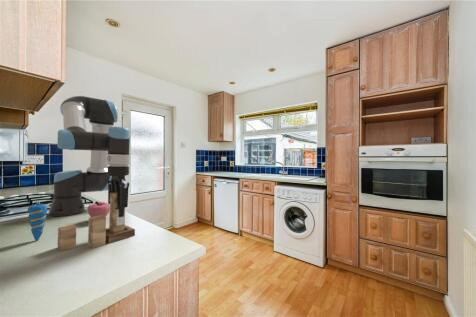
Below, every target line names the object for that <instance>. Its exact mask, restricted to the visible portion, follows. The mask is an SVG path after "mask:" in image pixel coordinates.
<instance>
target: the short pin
mask: <svg viewBox="0 0 476 317" xmlns="http://www.w3.org/2000/svg"><path fill="white" fill-rule="evenodd" d="M76 247H77V226H76V225H74V224H69V225H63V226H58V227H57V249H58V250H60V251H61V252H62V251H66V250H70V249H73V248H76Z"/></svg>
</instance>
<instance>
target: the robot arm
mask: <svg viewBox="0 0 476 317" xmlns="http://www.w3.org/2000/svg"><path fill="white" fill-rule="evenodd" d="M59 111H60V113H61V116H62V117H63V118H62V119H63V121H62V122H63V129H59V130H58V131H57V148H58V149H60V150H67V151H68V150H69V151H90V163H89V164H90V166H89V167H88V168H86V172H85V171H84V172H83V170H82V169H74V170H73V169H72V170H66V171H65V170H64V171H59V172H56V173H55V174H54V176H53V177H54V178H53V200H52V203H51V205H50V207H49V210H48V216H51V217H65V216H71V215H77V214H78V215H79V214H81V213H83V212H84V211H85V210H86V209H85V208H86V207H85V206H86V205H85V204H84V202H83V199H82V193H93V192H104V191H105V192H106V191H107V204H109V205H110V193H115V192H116V194H117V208H115V209H116V226H119V225H123V224H124V208H125V209H126V208H128V205H129V187H130V182H127V180H126V176H129V174H130V166H129V165H130V147H131V146H130V140H131V132H130V131H131V130H130V129H129V128H127V127H123V126H114V124H115V123H118V120H119V118H118V116H119V113H118V108H117V105H116V103H115V102H114V101H110V100H107V99H100V98H94V97H90V96H85V95H76V96H71V97H69V98H66V99H64V100H63V102H62V103H61V104H60V108H59ZM85 119H86V120H87V119H88V121H89V122H88V123H89V124H90V125H91V126H92V128H91V129H92V130H91V131H88V130H87V126H86V125H87V124H86V120H85ZM85 212H86V211H85Z"/></svg>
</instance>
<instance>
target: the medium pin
mask: <svg viewBox="0 0 476 317" xmlns="http://www.w3.org/2000/svg"><path fill="white" fill-rule="evenodd" d="M106 229H107V216H106V217H105V216H102V215H100V216H94V217H91V216H89V217H88V230H87V231H88V232H87V237H88V239H87V245H88V247H90V248H91V249H93V250H94V249H95V248H96V249H97V248H99V247H102V246H105V245H106V241H105V240H106Z"/></svg>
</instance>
